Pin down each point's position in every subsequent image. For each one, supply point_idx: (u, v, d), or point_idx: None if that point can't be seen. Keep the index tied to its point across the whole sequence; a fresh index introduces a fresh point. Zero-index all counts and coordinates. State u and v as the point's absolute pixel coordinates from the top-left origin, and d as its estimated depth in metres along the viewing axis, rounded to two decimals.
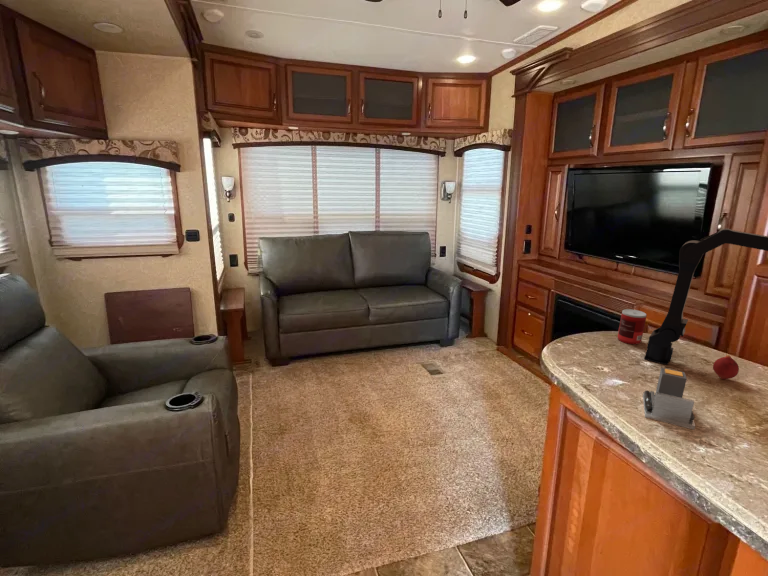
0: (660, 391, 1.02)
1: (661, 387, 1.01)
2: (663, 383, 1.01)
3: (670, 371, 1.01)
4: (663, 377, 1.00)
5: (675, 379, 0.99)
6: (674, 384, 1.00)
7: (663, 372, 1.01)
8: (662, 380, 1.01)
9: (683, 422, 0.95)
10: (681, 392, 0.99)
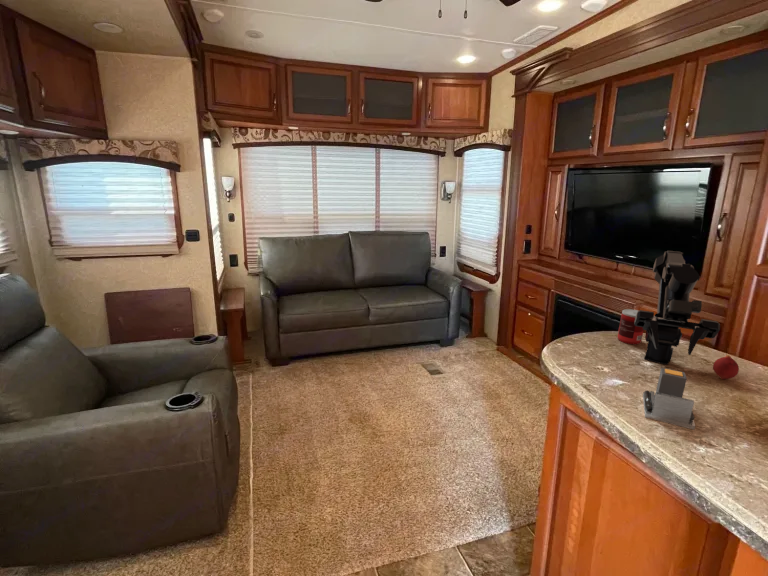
0: (660, 391, 1.02)
1: (661, 387, 1.01)
2: (663, 383, 1.01)
3: (670, 371, 1.01)
4: (663, 377, 1.00)
5: (675, 379, 0.99)
6: (674, 384, 1.00)
7: (663, 372, 1.01)
8: (662, 380, 1.01)
9: (683, 422, 0.95)
10: (681, 392, 0.99)
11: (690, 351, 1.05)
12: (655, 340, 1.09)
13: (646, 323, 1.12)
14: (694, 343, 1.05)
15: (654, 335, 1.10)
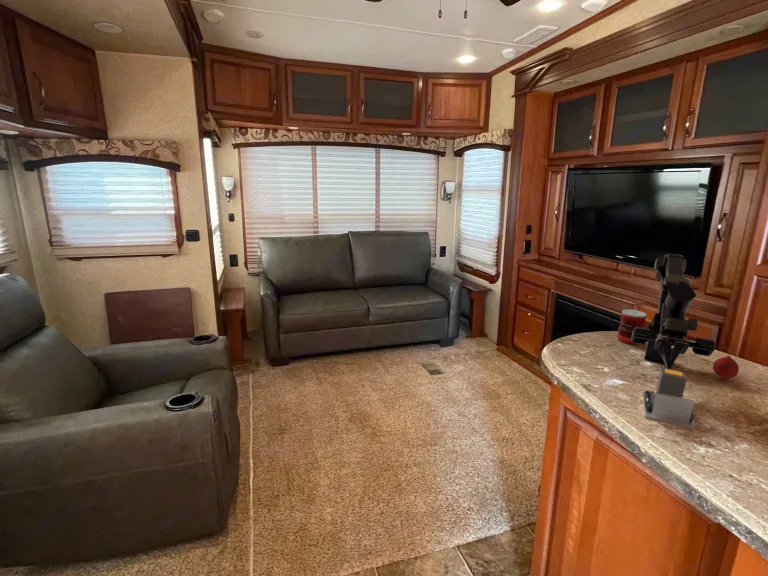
0: (660, 391, 1.02)
1: (661, 387, 1.01)
2: (663, 383, 1.01)
3: (670, 371, 1.01)
4: (663, 377, 1.00)
5: (675, 379, 0.99)
6: (674, 384, 1.00)
7: (663, 372, 1.01)
8: (662, 380, 1.01)
9: (683, 422, 0.95)
10: (681, 392, 0.99)
11: (670, 366, 1.07)
12: (666, 360, 1.08)
13: (657, 343, 1.11)
14: (674, 358, 1.08)
15: (665, 355, 1.09)
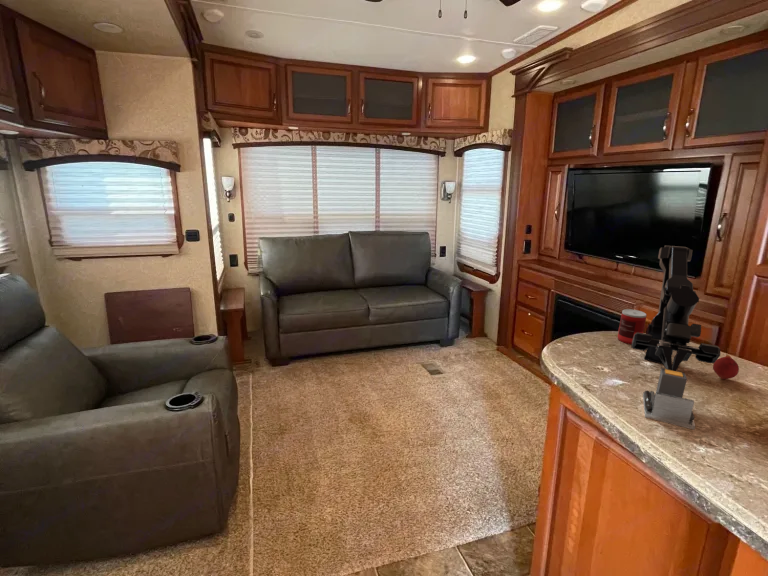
0: (660, 391, 1.01)
1: (661, 387, 1.01)
2: (663, 383, 1.01)
3: (670, 371, 1.01)
4: (663, 377, 1.00)
5: (675, 379, 0.99)
6: (674, 384, 0.99)
7: (663, 372, 1.01)
8: (662, 380, 1.01)
9: (683, 422, 0.95)
10: (681, 392, 0.99)
11: None
12: (669, 367, 1.03)
13: (659, 349, 1.06)
14: (677, 365, 1.03)
15: (668, 362, 1.04)
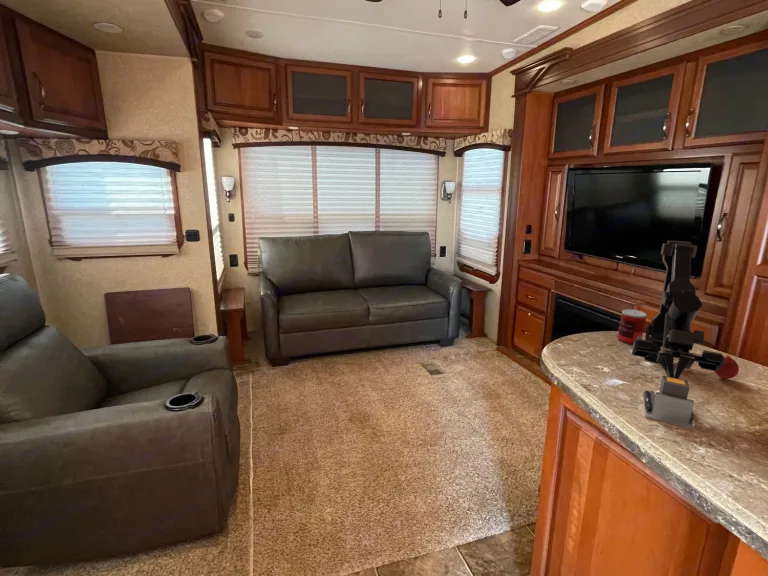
0: None
1: None
2: (665, 392, 0.97)
3: (672, 379, 0.97)
4: (665, 386, 0.96)
5: (678, 388, 0.95)
6: (676, 393, 0.95)
7: (665, 380, 0.97)
8: (664, 389, 0.97)
9: (683, 422, 0.95)
10: None
11: None
12: (670, 376, 1.00)
13: (660, 356, 1.02)
14: (679, 373, 0.99)
15: (669, 370, 1.00)
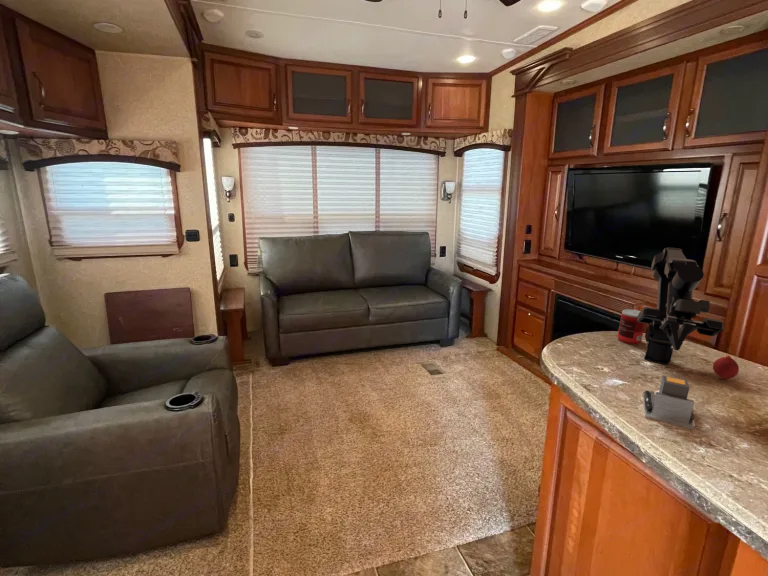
0: None
1: None
2: (665, 392, 0.97)
3: (672, 379, 0.97)
4: (665, 386, 0.96)
5: (678, 387, 0.95)
6: (676, 393, 0.95)
7: (665, 380, 0.97)
8: (664, 389, 0.97)
9: (683, 422, 0.95)
10: None
11: (678, 347, 1.07)
12: (675, 341, 1.07)
13: (666, 323, 1.09)
14: (682, 339, 1.07)
15: (674, 336, 1.08)
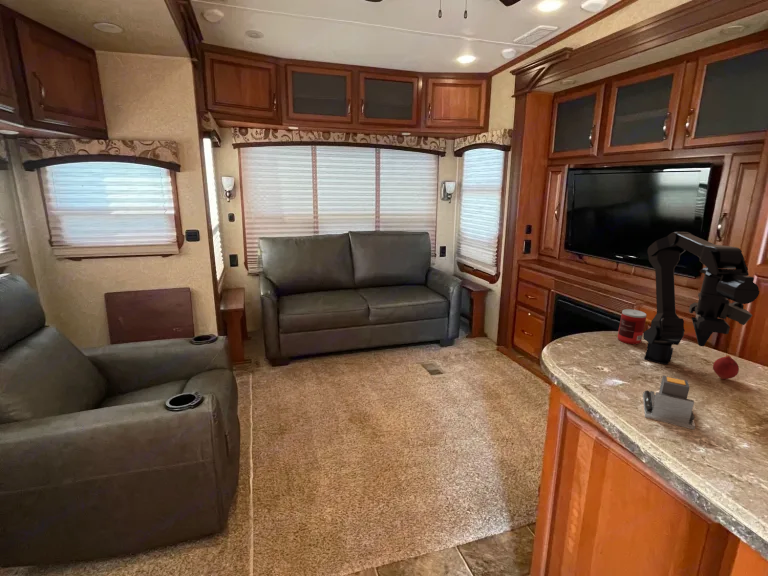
0: None
1: None
2: (665, 392, 0.97)
3: (672, 379, 0.97)
4: (665, 386, 0.96)
5: (678, 387, 0.95)
6: (676, 393, 0.95)
7: (665, 380, 0.97)
8: (664, 389, 0.97)
9: (683, 422, 0.95)
10: None
11: None
12: (706, 340, 1.10)
13: None
14: None
15: None
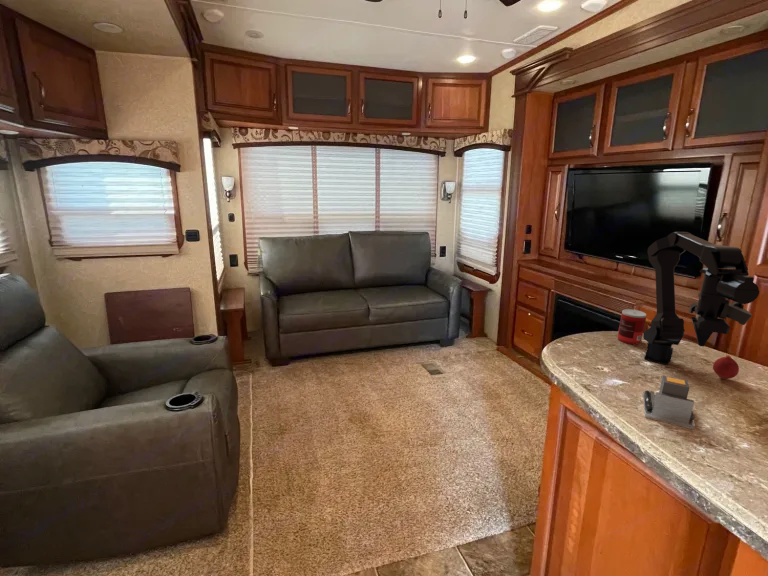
0: None
1: None
2: (665, 392, 0.97)
3: (672, 379, 0.97)
4: (665, 386, 0.96)
5: (678, 387, 0.95)
6: (676, 393, 0.95)
7: (665, 380, 0.97)
8: (664, 389, 0.97)
9: (683, 422, 0.95)
10: None
11: None
12: (706, 340, 1.10)
13: None
14: None
15: None
